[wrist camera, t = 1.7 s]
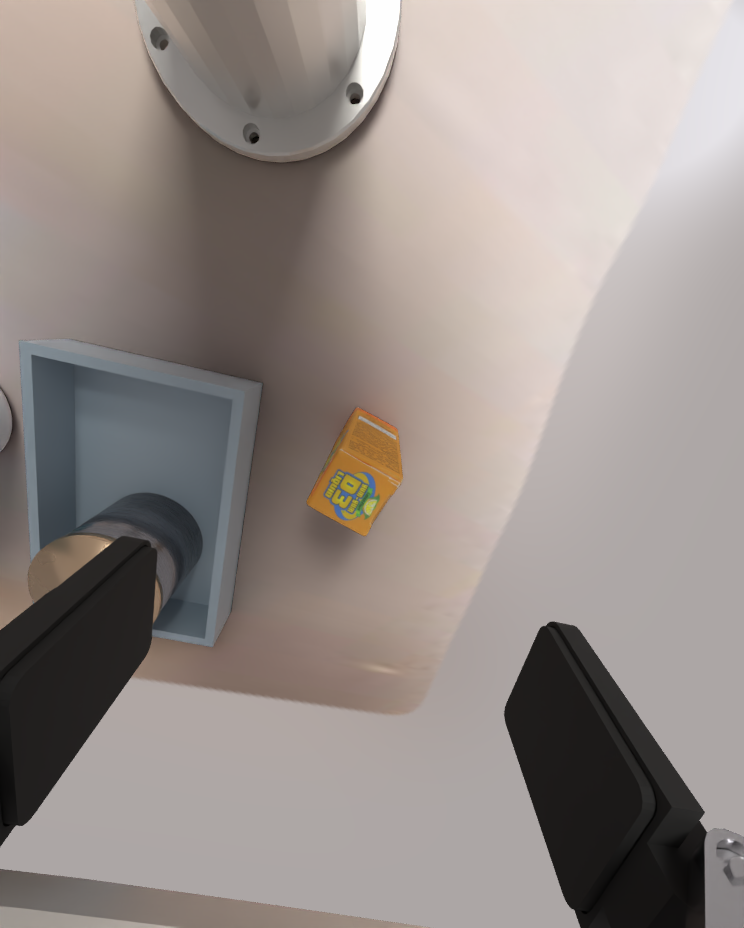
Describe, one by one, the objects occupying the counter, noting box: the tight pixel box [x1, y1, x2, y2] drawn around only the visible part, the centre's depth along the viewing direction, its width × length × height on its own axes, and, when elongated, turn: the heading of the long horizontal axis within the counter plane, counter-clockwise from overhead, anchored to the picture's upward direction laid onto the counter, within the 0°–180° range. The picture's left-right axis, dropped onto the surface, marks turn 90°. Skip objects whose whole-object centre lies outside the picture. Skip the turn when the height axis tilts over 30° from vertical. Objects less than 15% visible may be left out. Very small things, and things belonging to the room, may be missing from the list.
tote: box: [19, 339, 263, 647], centre depth 26 cm, size 18×12×4 cm, turn 167°
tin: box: [28, 493, 203, 623], centre depth 25 cm, size 7×7×6 cm
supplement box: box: [307, 407, 403, 536], centre depth 22 cm, size 3×3×10 cm
